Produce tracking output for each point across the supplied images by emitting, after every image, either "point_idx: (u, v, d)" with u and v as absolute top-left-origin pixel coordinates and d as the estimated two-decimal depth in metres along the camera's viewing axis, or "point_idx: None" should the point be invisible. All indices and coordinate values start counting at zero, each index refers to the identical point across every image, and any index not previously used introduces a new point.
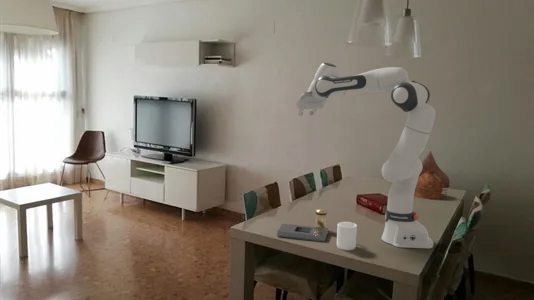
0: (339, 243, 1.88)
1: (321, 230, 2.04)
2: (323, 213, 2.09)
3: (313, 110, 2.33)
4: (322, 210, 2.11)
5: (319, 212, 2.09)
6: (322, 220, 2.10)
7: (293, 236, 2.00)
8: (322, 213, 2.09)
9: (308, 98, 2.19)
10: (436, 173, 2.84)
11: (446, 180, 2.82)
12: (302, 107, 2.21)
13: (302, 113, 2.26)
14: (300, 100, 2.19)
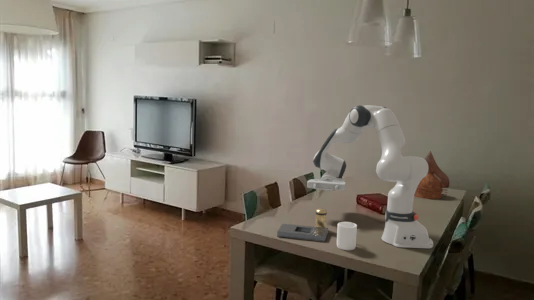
0: (339, 243, 1.88)
1: (321, 230, 2.04)
2: (323, 213, 2.09)
3: None
4: (322, 210, 2.11)
5: (319, 212, 2.09)
6: (322, 220, 2.10)
7: (293, 236, 2.00)
8: (322, 213, 2.09)
9: (314, 179, 2.35)
10: (436, 173, 2.84)
11: (446, 180, 2.82)
12: (310, 181, 2.30)
13: (316, 185, 2.25)
14: None
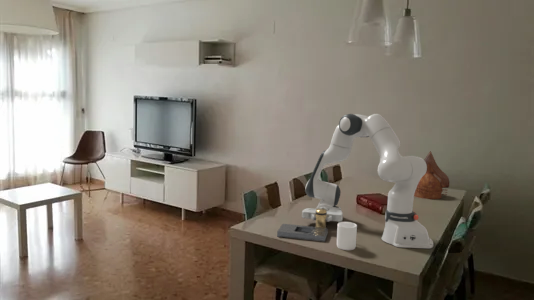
0: (339, 243, 1.88)
1: (321, 230, 2.04)
2: (323, 213, 2.09)
3: None
4: (322, 210, 2.11)
5: (319, 212, 2.09)
6: (322, 220, 2.10)
7: (293, 236, 2.00)
8: (322, 213, 2.09)
9: (310, 208, 2.23)
10: (436, 173, 2.84)
11: (446, 180, 2.82)
12: (305, 211, 2.19)
13: (315, 216, 2.13)
14: None
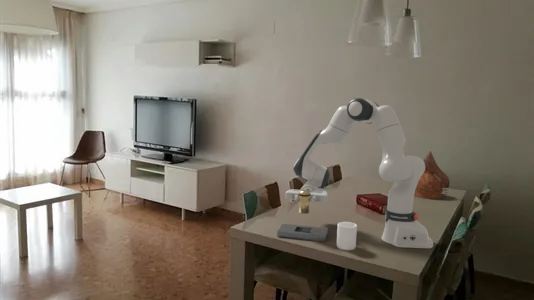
0: (339, 243, 1.88)
1: (321, 230, 2.04)
2: (306, 194, 2.00)
3: None
4: (306, 191, 2.02)
5: (302, 193, 2.00)
6: (306, 201, 2.01)
7: (293, 236, 2.00)
8: (305, 194, 2.00)
9: (294, 189, 2.14)
10: (436, 173, 2.84)
11: (446, 180, 2.82)
12: (289, 191, 2.09)
13: (298, 196, 2.04)
14: None
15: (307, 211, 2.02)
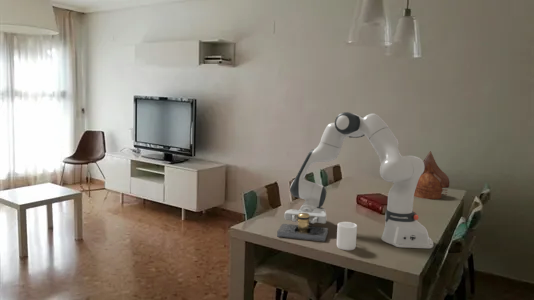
0: (339, 243, 1.88)
1: (321, 230, 2.04)
2: (305, 217, 2.01)
3: None
4: (304, 214, 2.03)
5: (301, 216, 2.02)
6: (305, 224, 2.02)
7: (293, 236, 2.00)
8: (304, 217, 2.01)
9: None
10: (436, 173, 2.84)
11: (446, 180, 2.82)
12: (288, 212, 2.10)
13: (295, 217, 2.06)
14: None
15: None
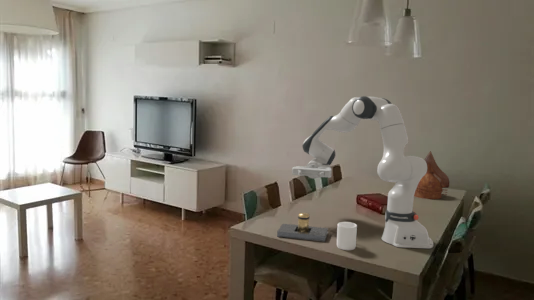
0: (339, 243, 1.88)
1: (321, 230, 2.04)
2: (305, 217, 2.02)
3: None
4: (305, 214, 2.03)
5: (301, 216, 2.02)
6: (305, 224, 2.02)
7: (293, 236, 2.00)
8: (304, 217, 2.01)
9: (300, 166, 2.28)
10: (436, 173, 2.84)
11: (446, 180, 2.82)
12: (295, 167, 2.23)
13: (301, 171, 2.18)
14: None
15: None
